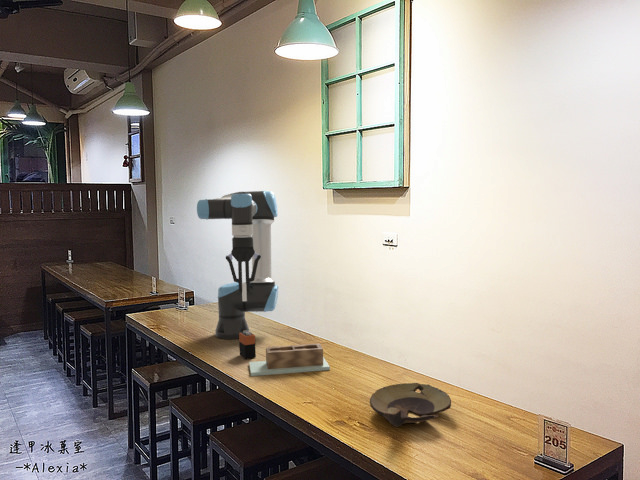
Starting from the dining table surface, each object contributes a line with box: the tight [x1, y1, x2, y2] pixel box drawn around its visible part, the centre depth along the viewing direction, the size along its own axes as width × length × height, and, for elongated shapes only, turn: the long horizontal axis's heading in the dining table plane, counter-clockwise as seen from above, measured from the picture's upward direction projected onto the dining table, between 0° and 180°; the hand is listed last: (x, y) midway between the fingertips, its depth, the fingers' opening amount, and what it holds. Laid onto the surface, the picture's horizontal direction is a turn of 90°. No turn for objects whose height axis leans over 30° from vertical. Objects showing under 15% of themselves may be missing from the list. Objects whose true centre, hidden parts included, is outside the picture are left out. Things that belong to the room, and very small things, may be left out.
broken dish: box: [369, 382, 452, 428], centre depth 150 cm, size 22×30×8 cm
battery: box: [238, 330, 257, 360], centre depth 208 cm, size 4×7×10 cm, turn 29°
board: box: [248, 356, 331, 377], centre depth 194 cm, size 28×12×4 cm, turn 101°
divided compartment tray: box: [265, 343, 324, 369], centre depth 194 cm, size 20×7×6 cm, turn 101°
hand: (244, 300), depth 195 cm, fingers closed
